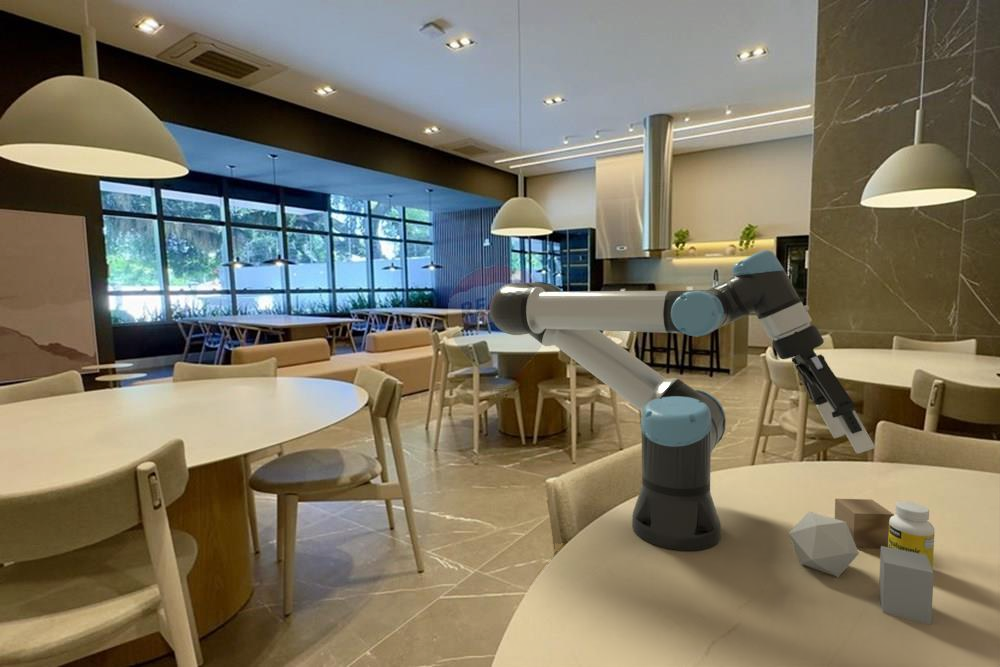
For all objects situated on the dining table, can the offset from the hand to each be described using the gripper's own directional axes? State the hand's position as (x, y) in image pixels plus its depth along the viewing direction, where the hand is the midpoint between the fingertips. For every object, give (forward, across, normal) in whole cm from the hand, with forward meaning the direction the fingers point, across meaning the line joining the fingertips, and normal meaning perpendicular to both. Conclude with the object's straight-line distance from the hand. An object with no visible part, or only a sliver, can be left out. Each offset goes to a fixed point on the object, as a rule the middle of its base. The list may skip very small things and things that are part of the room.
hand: (853, 442), depth 87 cm
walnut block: (+16, 0, +6) cm, 17 cm away
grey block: (+17, -20, +8) cm, 27 cm away
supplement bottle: (+18, -8, +3) cm, 20 cm away
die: (+13, -12, +14) cm, 23 cm away
